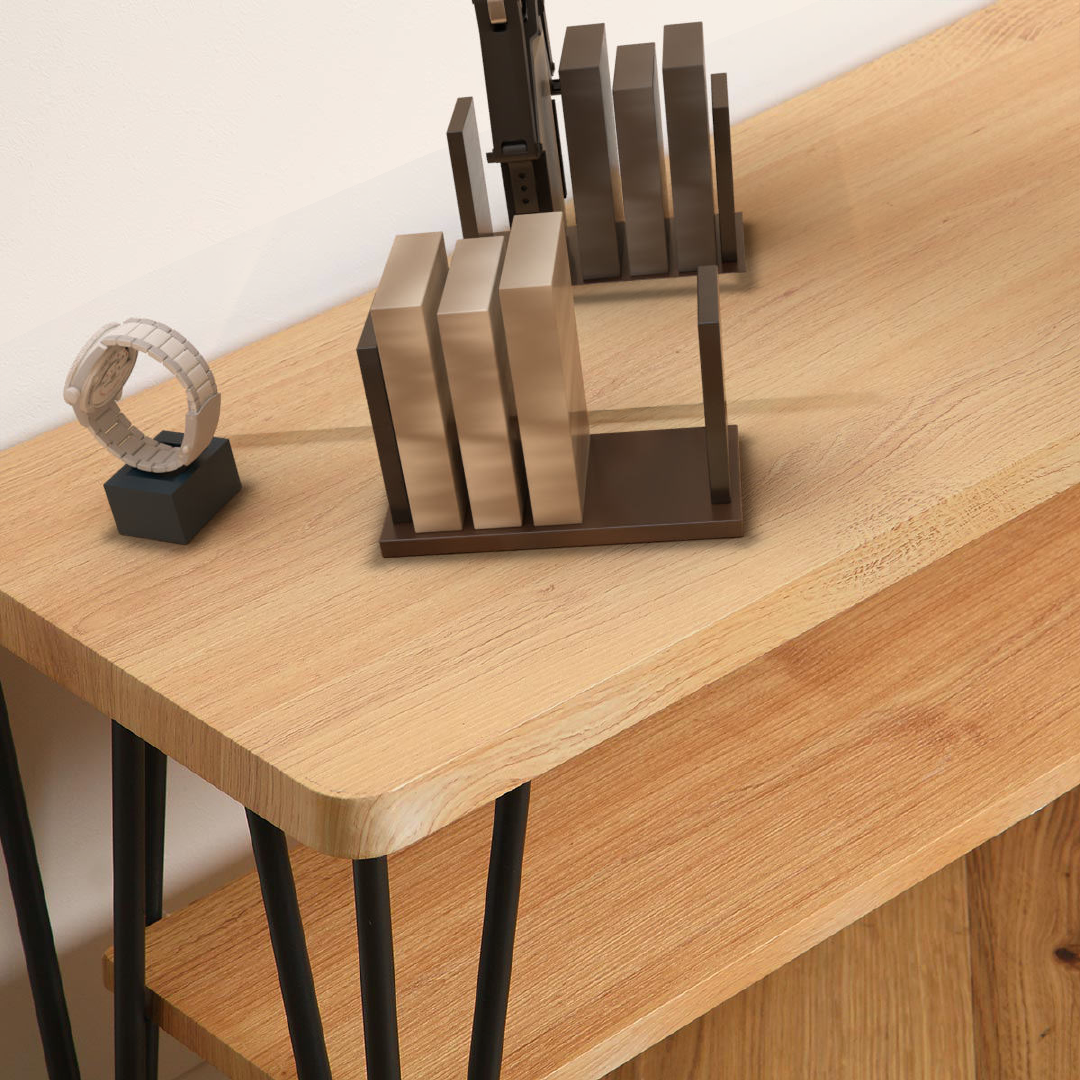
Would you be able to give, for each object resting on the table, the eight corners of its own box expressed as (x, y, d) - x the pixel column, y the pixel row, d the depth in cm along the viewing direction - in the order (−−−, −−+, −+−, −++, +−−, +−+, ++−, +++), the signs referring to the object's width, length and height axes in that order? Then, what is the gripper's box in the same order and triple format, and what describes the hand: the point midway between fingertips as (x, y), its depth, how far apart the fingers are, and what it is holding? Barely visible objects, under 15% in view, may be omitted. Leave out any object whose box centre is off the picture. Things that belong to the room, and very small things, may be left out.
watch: (148, 473, 91) (93, 297, 85) (269, 491, 88) (221, 309, 82) (88, 529, 87) (26, 348, 81) (213, 550, 84) (158, 363, 77)
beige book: (567, 223, 108) (542, 29, 101) (559, 275, 102) (532, 72, 94) (531, 226, 109) (504, 33, 101) (521, 279, 102) (491, 77, 95)
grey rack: (743, 225, 108) (731, 7, 100) (747, 285, 101) (734, 56, 93) (477, 247, 110) (443, 35, 102) (462, 307, 103) (425, 85, 95)
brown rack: (738, 439, 86) (723, 193, 78) (743, 537, 79) (727, 275, 71) (406, 461, 89) (359, 224, 81) (381, 557, 81) (327, 307, 73)
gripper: (447, -180, 100) (499, 168, 113) (398, -95, 83) (466, 304, 96) (567, -195, 99) (606, 157, 112) (542, -112, 82) (592, 293, 95)
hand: (541, 224), depth 104 cm, fingers closed on beige book, 8 cm apart
